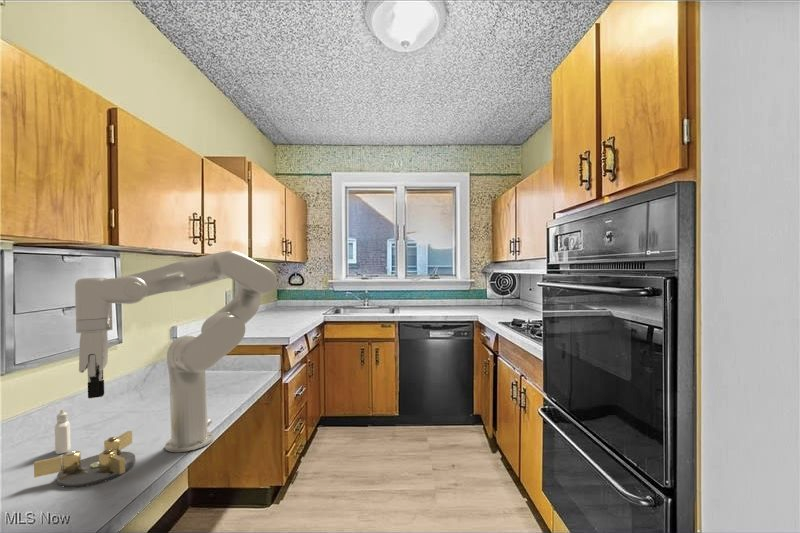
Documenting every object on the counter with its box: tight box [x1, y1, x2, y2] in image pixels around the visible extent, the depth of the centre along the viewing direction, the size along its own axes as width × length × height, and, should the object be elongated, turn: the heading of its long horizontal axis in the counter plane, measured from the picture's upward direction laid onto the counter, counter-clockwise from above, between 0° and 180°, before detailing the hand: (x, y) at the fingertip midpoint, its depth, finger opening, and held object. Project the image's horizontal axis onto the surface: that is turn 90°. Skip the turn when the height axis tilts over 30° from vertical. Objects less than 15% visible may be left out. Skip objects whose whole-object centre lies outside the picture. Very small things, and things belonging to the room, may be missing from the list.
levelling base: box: [56, 451, 136, 488], centre depth 104 cm, size 16×16×2 cm
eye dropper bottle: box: [54, 408, 72, 455], centre depth 117 cm, size 4×6×12 cm
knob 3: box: [98, 449, 126, 475], centre depth 100 cm, size 9×4×5 cm, turn 60°
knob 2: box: [103, 430, 133, 455], centre depth 112 cm, size 9×4×5 cm, turn 0°
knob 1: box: [33, 449, 82, 478], centre depth 100 cm, size 9×4×5 cm, turn 120°
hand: (96, 396), depth 104 cm, fingers closed
